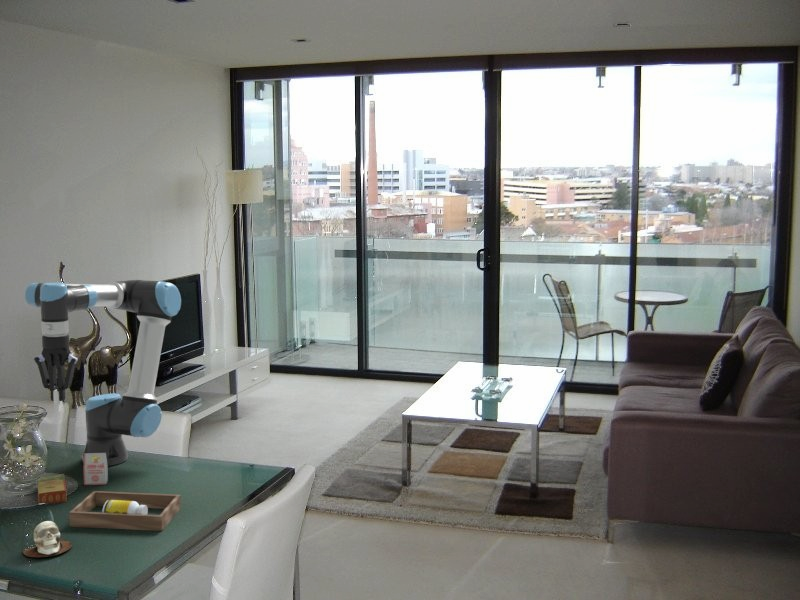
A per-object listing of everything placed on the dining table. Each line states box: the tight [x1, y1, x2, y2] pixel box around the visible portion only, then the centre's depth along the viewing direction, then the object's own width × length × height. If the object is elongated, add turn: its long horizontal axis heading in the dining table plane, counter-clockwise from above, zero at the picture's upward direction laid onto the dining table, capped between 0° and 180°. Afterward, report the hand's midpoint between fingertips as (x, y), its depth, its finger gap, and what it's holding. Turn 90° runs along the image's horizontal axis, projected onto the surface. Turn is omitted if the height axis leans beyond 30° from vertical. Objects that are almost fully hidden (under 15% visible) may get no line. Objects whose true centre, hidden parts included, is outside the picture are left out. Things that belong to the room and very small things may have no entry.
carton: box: [37, 473, 68, 504], centre depth 272 cm, size 8×16×4 cm, turn 23°
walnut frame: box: [68, 490, 182, 532], centre depth 256 cm, size 17×27×4 cm, turn 86°
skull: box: [23, 520, 73, 559], centre depth 233 cm, size 12×10×10 cm
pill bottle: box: [101, 500, 149, 515], centre depth 251 cm, size 6×6×12 cm
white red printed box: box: [82, 453, 109, 486], centre depth 283 cm, size 4×7×10 cm, turn 98°
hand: (58, 410), depth 264 cm, fingers closed
